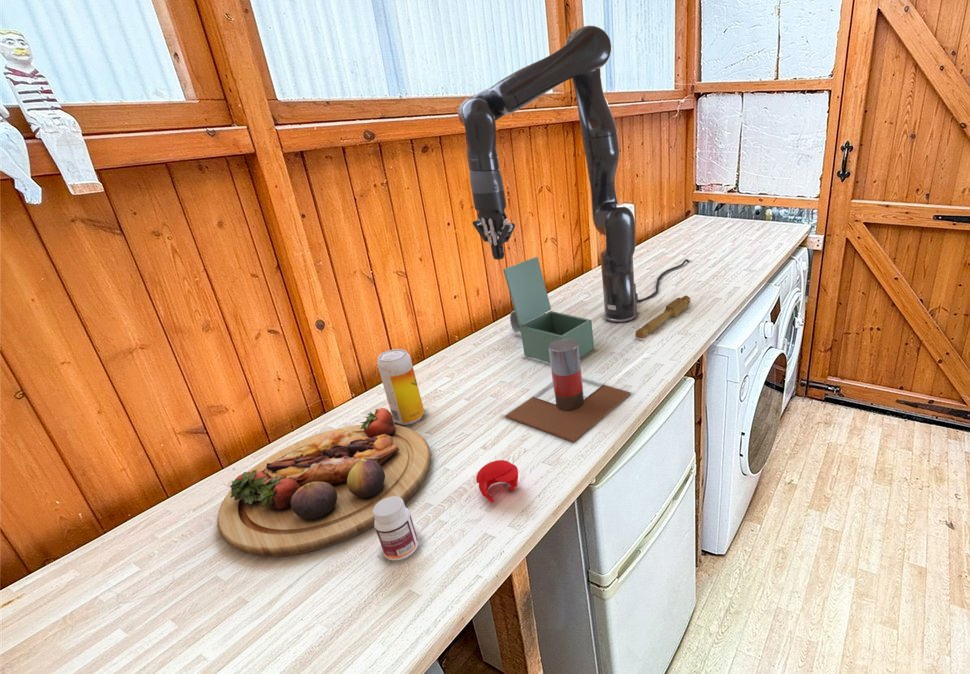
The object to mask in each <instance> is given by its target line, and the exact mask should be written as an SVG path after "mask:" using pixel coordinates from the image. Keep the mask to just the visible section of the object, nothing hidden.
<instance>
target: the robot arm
mask: <svg viewBox="0 0 970 674" xmlns="http://www.w3.org/2000/svg"><path fill="white" fill-rule="evenodd" d="M611 41H612V40H611V38H610V37H609V35H608V33H607V32H606V30H604V29H603V28H601V27H600V26H597V25H584V26H582V27H579V28H576V29H574V30H572V31H571V32H570V33H569V34H568V36H567V38H566V41H565V45H564V46H562V47H561V48H560V49H558V50H556V51H555V52H553V53H551V54H550V55H548V56H546V57H544V58H542V59H540V60H537V61H535V62H533V63H531V64H528V65H526V66H525V67H522V68H520V69H518V70H516V71H514V72H513V73H511V74H509V75H508V76H506V77H504V78H502V79H501V80H499V81H498V82H496V83H495V84H493V85H492V86H491V87H489V88H486V89H484V90H482V91H480V92H478V93H476V94H474V95H472V96H470V97H468V98H466V99H464V100H463V101H462V102H461V104H460V105H459V107H458V110H457V115H458V119H459V122H460V123H461V125H462V126H463V127H464V131H465V132H464V133H465V136H466V137H465V138H466V142H467V143H466V144H467V147H466V159H467V164H468V170H469V183H470V189H471V194H472V201H473V206H474V207H473V208H474V209H475V211H477V218H476V220H473V221H472V225H473V227H474V228H475V230H476V231H477V233H478V235H479V236H480V237H481V239H482V240H483V242H485V243H488V245H490V249H491V255H492V258H493V259H494V260H498V261H499V260H502V259H504V258H505V249H504V244H505V243H507V242H509V241H510V238H511V236H512V234H513V232H514V229H515V228H516V224H515V223H514V222H511V223H510V221H509V220H508V217H507V214H506V212H505V210H506V208H507V202H506V194H505V188H504V187H505V185H504V179H503V175H502V173H501V167H500V160H499V159H500V158H499V154H498V153H499V152H498V149H497V126H496V123H497V122H496V121H498V120H499V119H501V118H503V117H504V116H506V115H511V114H513V113H516V112H517V111H519V110H521V109H523V108H524V107H526V106H527V105H529V104H531V103H532V102H534V101H535V100H537V99H538V98H540V97H542V96H543V95H545V94H547V93H549V91H551V90H553V89H555V88H556V87H558V86H559V85H561V84H564V83H565V82H566V81H567V82H568V81H569V80H572V84H573V88H574V94H575V97H576V98H575V99H576V107H577V112H578V113H577V114H578V118H579V119H578V120H579V125H580V134H581V140H582V146H583V152H584V157H585V162H586V168H587V175H588V181H589V186H590V197H591V198H590V199H591V211H592V213H591V214H592V221H593V226H594V228H595V230H596V231H597V232H598V233H599V234H600V235H602V236H604V237H605V249H604V250H602V251H601V252H600V267H601V282H602V293H603V294H602V295H603V307H604V319H605V320H606V321H608V322H612V323H625V322H630V321H632V320H634V319H635V318H636V317H637V313H638V305H637V304H638V303H640V302H643V301H644V302H645V301H647V300H649V299H651V298H653V297H654V296H655V295H657V293H658V292H659V282H660V279H661V278H662V277H663V276H664V275H665V274H667V273H669V272H671V271H674V270H676V269H679V268H681V267H682V266H684V264H685V263H686V262H688V263H689V262H690V260H689V259H687V258H686V259H684V260H683V261H682V262H681V264H679V265H676V266H673V267H671V268H668V269H666V270H665V271H663V272H662V273H661V274H659V276H658V277H657V278H656V279H657V280H656V284H655V291H654V292H653V293H652V294H649V296H646V297H644V298H641V299H639V294H638V293H637V285H636V283H635V274H634V273H635V271H634V254H635V251H636V220H635V216H634V213H633V212H632V210H631V209H630V208H628V207H627V206H624V205H621V204H619V201H618V198H617V191H616V182H615V181H616V174H617V171H618V170H617V169H618V165H619V160H620V143H619V142H620V141H619V135H618V128H617V125H616V121H615V118H614V115H613V113H612V111H611V109H610V105H609V103H608V100H607V99H606V95H605V92H604V88H603V83H602V82H603V81H602V74H601V73H602V72H601V68H602V67H604V66H605V65H606V64H607V63H608V61H609V60H610V57H611V54H612V42H611Z"/></svg>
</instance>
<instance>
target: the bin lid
mask: <svg viewBox="0 0 970 674" xmlns="http://www.w3.org/2000/svg"><path fill="white" fill-rule="evenodd" d="M502 270H503V274H504V278H505V281H506V286H507V288H508V292H509V296H510V298H511V303H512V306H513V309H514V310H515V313H516V317H517V320H518V324H519V325H522V324H524V323H526V322H528V321H530V320H532V319H534V318H536V317H538V316H540V315H542V314H544V313H545V314H546V313H548V312H550V311H552V307H551V301H550V299H549V295H548V292H547V287H546V284H545V280H544V276H543V272H542V269H541V264H540V260H539V257H538V256H535V257H532V258H530V259H529V258H528V259H526V260H524V261H522V262H519V263H516V264H514V265H511V266H508V267H506V268H502ZM514 310H513V311H514Z"/></svg>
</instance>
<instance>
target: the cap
mask: <svg viewBox="0 0 970 674" xmlns="http://www.w3.org/2000/svg"><path fill="white" fill-rule="evenodd" d="M518 480H519V470H518V467H517V465H515V464H514V463H512V462H510V461H508V460H503V459H497V460H494V461H490V462H489V463H486V464H485V465H483V466H482V467H481V468H480V469H479V470H478V471H477V473H476V476H475V481H476V483H477V484H478V489H479V491H480V494H481V495H482V496H483V497H485V498H486V499H487V500H488V501H489V502H490V503H492V504H493V503H494V502H495V499H494V497H492V495H491V494H490V493H488V490H489V488H490V487H491V486H492V485H494V484H497V483H505V484H508V485H510V486H509V489H510V491H515V489H516V487H518V482H519V481H518Z"/></svg>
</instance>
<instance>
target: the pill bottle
mask: <svg viewBox="0 0 970 674" xmlns="http://www.w3.org/2000/svg"><path fill="white" fill-rule="evenodd" d="M405 504H406V503H404V502H403V499H402V498H400V497H397V496H392V497H387V498H385V499H383V500H381V501H379V502H378V503H377V504H376V505H375V506H374V508H373V514H374V518H375V521H374V526H373V527H374V529H375V533H376V535H377V538H378V540H379V543H380V547H381V548H382V549H381V550H382V551H383V552H382V553H383V554H384V557H385V558H386V559H387V560H389V561H401V560H404V559H407V558H408V557H410V556H412V555H413V554H414V553H415V552H416V550H417V549H418V547H419V538H418V535H417V532H416V531H417V530H416V528H415V525H414V521H413V518H412V515H411V512H410V510H409V509H408V507H406V505H405Z"/></svg>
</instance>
